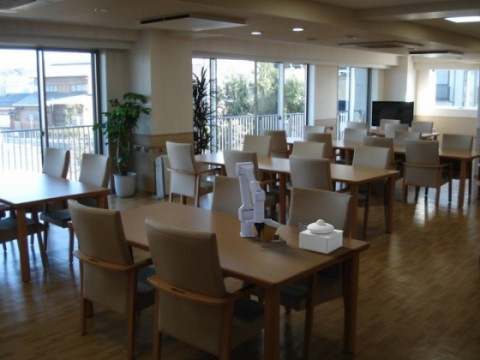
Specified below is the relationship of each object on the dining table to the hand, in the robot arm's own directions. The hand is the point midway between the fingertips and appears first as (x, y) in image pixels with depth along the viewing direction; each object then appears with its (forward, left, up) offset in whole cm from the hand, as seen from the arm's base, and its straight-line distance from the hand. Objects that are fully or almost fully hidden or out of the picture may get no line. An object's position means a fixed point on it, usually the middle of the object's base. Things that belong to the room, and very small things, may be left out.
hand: (259, 235), depth 312 cm
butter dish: (+14, +32, -5) cm, 35 cm away
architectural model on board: (-8, +31, -5) cm, 32 cm away
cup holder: (0, +7, -5) cm, 8 cm away
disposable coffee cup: (0, +4, -4) cm, 5 cm away
